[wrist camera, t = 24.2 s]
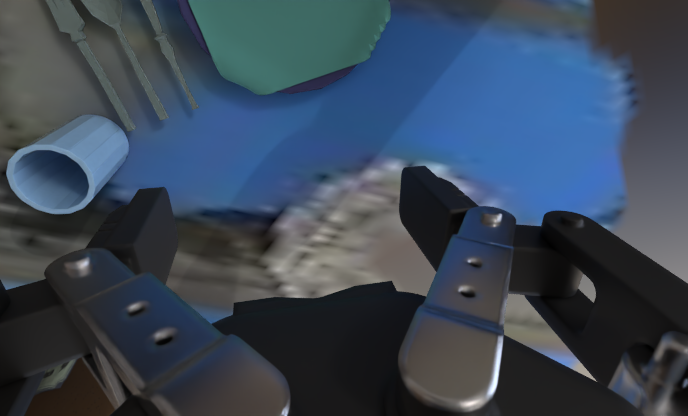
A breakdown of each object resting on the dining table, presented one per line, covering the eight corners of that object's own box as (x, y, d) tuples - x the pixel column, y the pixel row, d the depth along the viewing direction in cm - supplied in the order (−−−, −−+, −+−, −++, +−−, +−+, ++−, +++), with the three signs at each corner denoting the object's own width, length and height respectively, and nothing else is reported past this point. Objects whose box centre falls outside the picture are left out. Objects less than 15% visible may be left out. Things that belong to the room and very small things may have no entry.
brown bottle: (186, 312, 50) (135, 541, 28) (132, 359, 52) (45, 610, 30) (113, 267, 45) (-17, 504, 23) (55, 321, 47) (-116, 589, 25)
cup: (87, 101, 37) (37, 128, 28) (141, 143, 40) (110, 180, 31) (49, 142, 38) (-11, 181, 29) (105, 181, 41) (65, 227, 32)
